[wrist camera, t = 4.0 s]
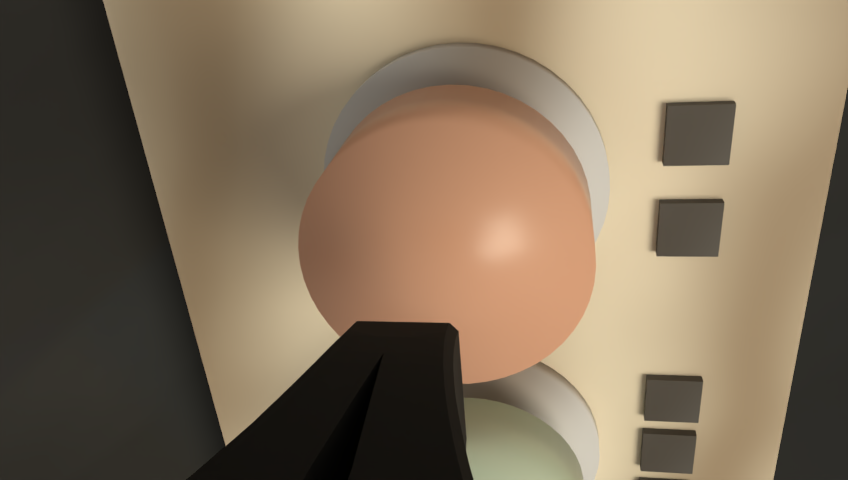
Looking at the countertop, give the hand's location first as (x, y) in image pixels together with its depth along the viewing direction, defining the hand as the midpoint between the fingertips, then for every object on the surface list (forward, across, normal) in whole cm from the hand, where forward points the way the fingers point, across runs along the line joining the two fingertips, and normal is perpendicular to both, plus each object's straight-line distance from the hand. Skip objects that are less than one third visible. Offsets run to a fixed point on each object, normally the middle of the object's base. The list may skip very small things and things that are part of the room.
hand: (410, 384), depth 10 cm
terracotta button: (+5, 0, 0) cm, 5 cm away
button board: (+8, 0, +7) cm, 11 cm away
